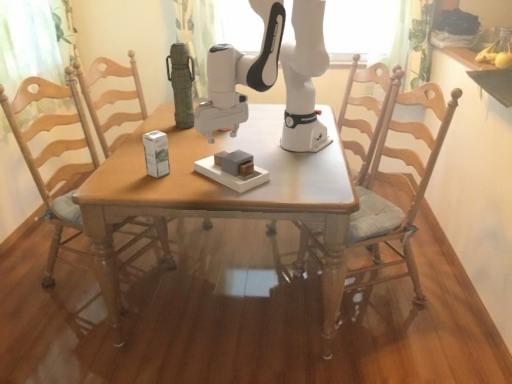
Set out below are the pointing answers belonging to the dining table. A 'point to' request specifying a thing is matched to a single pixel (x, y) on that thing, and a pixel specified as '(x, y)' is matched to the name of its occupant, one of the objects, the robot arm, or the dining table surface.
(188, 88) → the thermos
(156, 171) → the syrup box
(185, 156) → the dining table surface
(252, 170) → the bar
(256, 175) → the board
